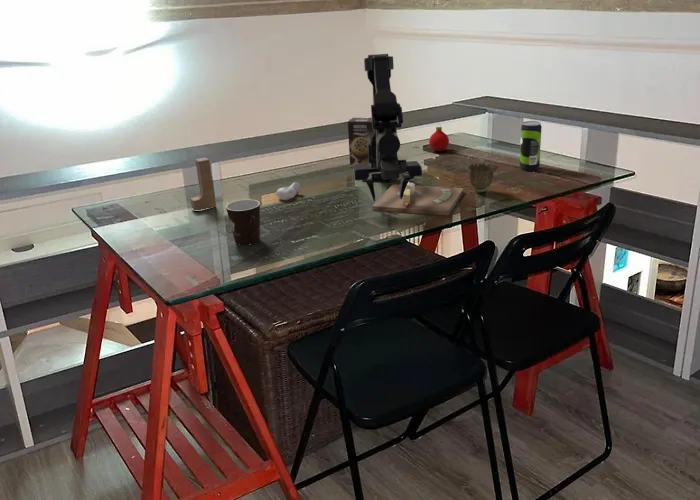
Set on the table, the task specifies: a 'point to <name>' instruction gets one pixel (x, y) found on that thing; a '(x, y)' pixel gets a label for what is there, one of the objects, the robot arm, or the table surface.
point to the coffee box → (359, 140)
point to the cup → (481, 176)
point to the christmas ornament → (439, 140)
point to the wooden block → (204, 186)
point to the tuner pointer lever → (408, 193)
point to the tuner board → (420, 200)
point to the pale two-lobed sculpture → (288, 191)
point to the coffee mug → (245, 221)
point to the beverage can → (530, 145)
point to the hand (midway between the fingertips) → (387, 199)
